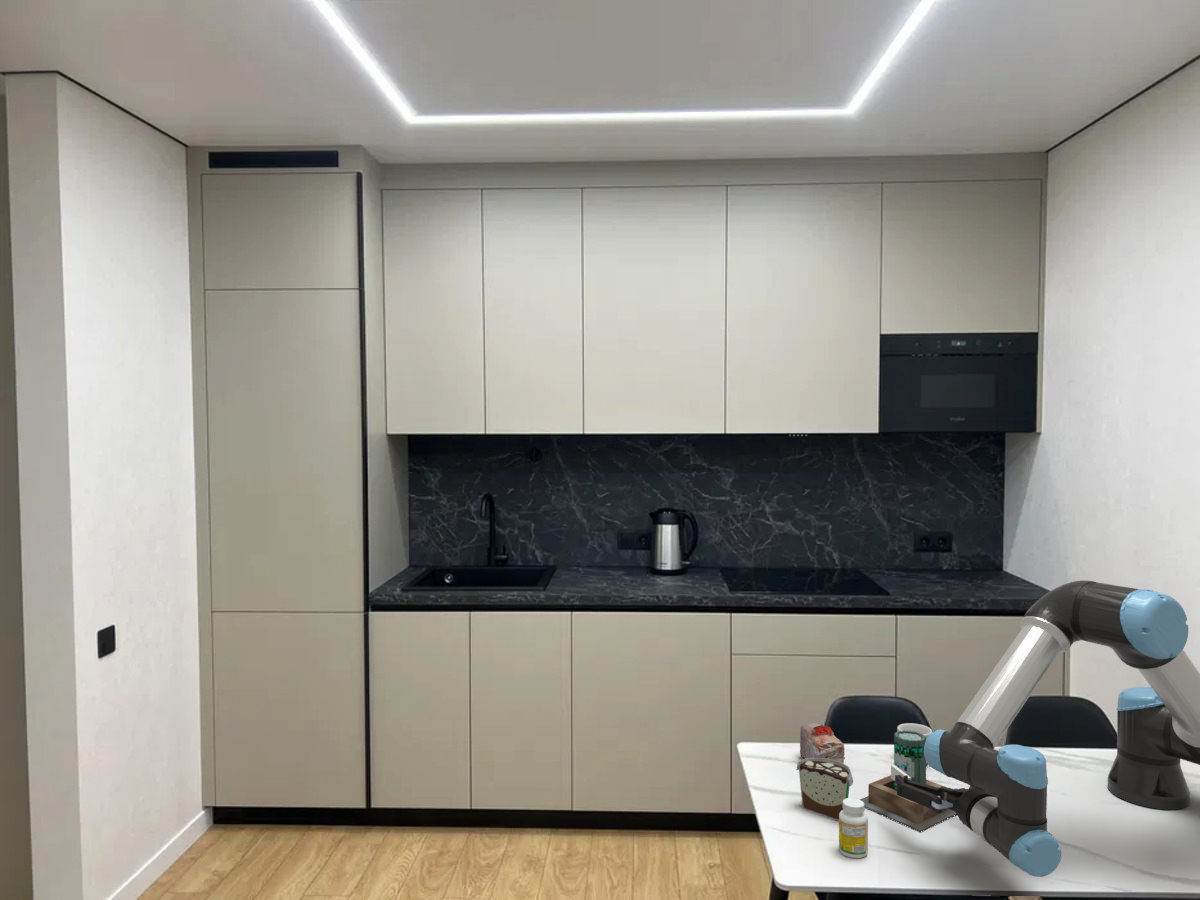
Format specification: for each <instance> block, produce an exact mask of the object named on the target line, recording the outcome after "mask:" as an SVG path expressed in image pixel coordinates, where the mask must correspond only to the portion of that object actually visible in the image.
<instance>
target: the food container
mask: <svg viewBox="0 0 1200 900" xmlns="http://www.w3.org/2000/svg"><path fill="white" fill-rule="evenodd" d="M796 771H798V773H799V784H800V794H801V806H802V810H805V811H808V812H812V813H814V814H817V815H820V816H822V817H826V818H829V819H831V820H834V821H837V822H839V814H840V812H841V811H842V810H843V800H844V799H846V798H849V792H850V787H851V786H852V785H853V784H854V777H853V774H852V771H851V769H850V767H848V765H846V764H845V763H844V764H843V763H841V762H838V761H835V760H831V759H825V758H807V759H805V758H804V759H803V758H802V759H801V760H798V763H797V764H796Z"/></svg>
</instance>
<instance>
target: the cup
mask: <svg viewBox="0 0 1200 900" xmlns="http://www.w3.org/2000/svg"><path fill="white" fill-rule="evenodd" d="M896 728H897V729H896V732H898V731H904V730H905V731H915V732H918V733H921V734H923V735H925V736H926V740H927V738H928V736H929V735H930V734H931V733H932V732H933V729H931V728H930V727H929V726H927V725H924V724H919V723H912V722H911V723H909V722H907V723H906V722H905V723H901V724H898V725H897V727H896ZM926 764H928V763H927V762H926Z"/></svg>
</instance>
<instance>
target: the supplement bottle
mask: <svg viewBox="0 0 1200 900" xmlns="http://www.w3.org/2000/svg"><path fill="white" fill-rule="evenodd" d="M865 809H866V808H864V802H863V801H861V800H860V799H858V798H854V797H848V798H846V799H844V800H843V810H842V811H841V812H840V814H839V821H838V849H839V852H840V853H841V854H842V855H843V856H846V857H847V858H851V859H852V858H853V859H862V858H864V857H866V856H867V855H868V852H869V818H868V817H869V816H868V815H867V814H866V813H865Z"/></svg>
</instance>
